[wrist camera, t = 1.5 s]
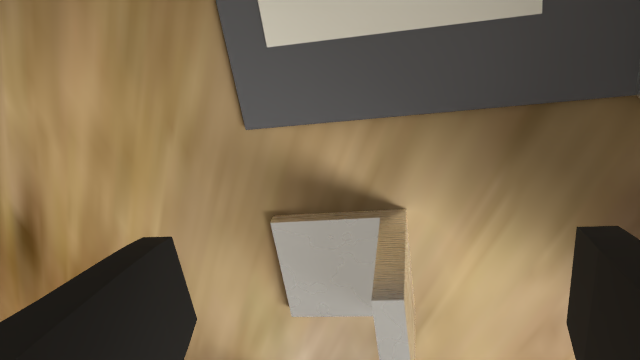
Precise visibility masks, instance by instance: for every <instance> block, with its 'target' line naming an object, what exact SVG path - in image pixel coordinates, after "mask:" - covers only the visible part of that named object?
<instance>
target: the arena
mask: <svg viewBox="0 0 640 360" xmlns="http://www.w3.org/2000/svg"><path fill="white" fill-rule="evenodd" d="M216 4H217V8H218V12H219V17H220V21H221V25H222V30H223V34H224V38H225V43H226V47H227V51H228V56H229V60H230V64H231V68H232V73H233V77H234V81H235V86H236V90H237V94H238V99H239V103H240V107H241V112H242V116H243V120H244V125H245V129H246V130H250V129H261V128H273V127H284V126H295V125H306V124H317V123H329V122H340V121H351V120H362V119H373V118H385V117H396V116H407V115H418V114H430V113H441V112H452V111H463V110H474V109H486V108H497V107H508V106H519V105H530V104H542V103H553V102H564V101H575V100H587V99H598V98H609V97H620V96H631V95H636V96H637V97H639V98H640V0H216Z"/></svg>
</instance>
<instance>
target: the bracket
mask: <svg viewBox="0 0 640 360" xmlns="http://www.w3.org/2000/svg"><path fill="white" fill-rule="evenodd" d="M270 224H271V228H272V233H273V237H274V241H275V246H276V250H277V254H278V259H279V263H280V268H281V272H282V276H283V281H284V285H285V289H286V294H287V298H288V303H289V307H290V311H291V316H292V317H334V316H373V317H374V324H375V331H376V339H377V346H378V353H379V360H415V301H414V290H413V279H412V268H411V257H410V246H409V235H408V224H407V213H406V209H394V210H375V211H355V212H336V213H316V214H297V215H278V216H273V218H272V220H271V222H270Z"/></svg>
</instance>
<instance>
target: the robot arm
mask: <svg viewBox="0 0 640 360" xmlns="http://www.w3.org/2000/svg"><path fill="white" fill-rule="evenodd" d="M196 321H197V317H196V314H195V311H194V308H193V304H192V301H191V298H190V294H189V291H188V288H187V285H186V281H185V278H184V275H183V272H182V268H181V265H180V262H179V259H178V255H177V252H176V249H175V246H174V242H173V239H172V237H143V238H141V239H139V240H137V241H135V242H133V243H131V244H129V245H127V246H125V247H124V248H122V249H120V250H118V251H117V252H115V253H113V254H112V255H110V256H108V257H107V258H105V259H103V260H102V261H100V262H98V263H97V264H95V265H94V266H92V267H90V268H89V269H87V270H86V271H84V272H82V273H81V274H79V275H78V276H76V277H74V278H73V279H71V280H70V281H68V282H66V283H65V284H63V285H62V286H60V287H58V288H57V289H55V290H54V291H52V292H50V293H49V294H47V295H46V296H44V297H42V298H41V299H39V300H38V301H36V302H34V303H32V304H31V305H29V306H27V307H26V308H24V309H22V310H21V311H19V312H17V313H15V314H14V315H12V316H10V317H9V318H7V319H5V320H3V321H2V322H0V360H184V357H185V355H186V352H187V349H188V346H189V343H190V340H191V337H192V334H193V330H194V327H195V324H196ZM567 327H568V331H569V335H570V339H571V342H572V346H573V350H574V354H575V358H576V360H640V240H639V239H637V238H636V237H634V236H633V235H631V234H630V233H628V232H627V231H625V230H623V229H622V228H620V227H619V226H598V227H577V231H576V240H575V249H574V258H573V268H572V277H571V286H570V296H569V305H568V314H567Z"/></svg>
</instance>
